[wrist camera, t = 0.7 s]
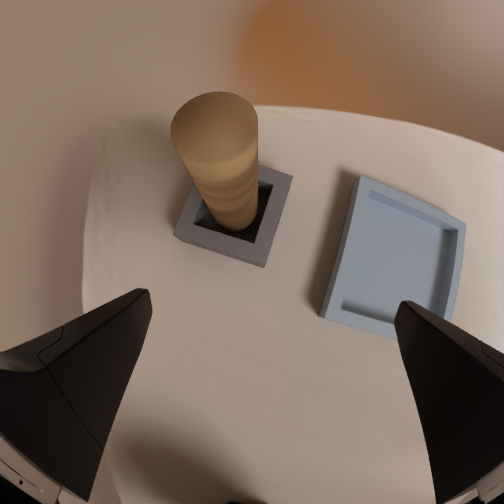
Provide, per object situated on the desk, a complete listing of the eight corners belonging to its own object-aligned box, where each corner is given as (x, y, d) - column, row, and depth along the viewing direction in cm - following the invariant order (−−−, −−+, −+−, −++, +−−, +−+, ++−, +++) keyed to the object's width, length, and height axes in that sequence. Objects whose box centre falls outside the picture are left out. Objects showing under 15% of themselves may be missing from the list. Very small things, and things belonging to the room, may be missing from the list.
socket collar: (264, 268, 23) (264, 264, 20) (181, 240, 23) (172, 234, 21) (289, 187, 24) (292, 175, 21) (211, 165, 24) (206, 151, 22)
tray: (431, 346, 21) (443, 349, 19) (318, 316, 22) (324, 318, 20) (454, 228, 23) (466, 223, 21) (353, 183, 24) (360, 175, 22)
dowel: (249, 240, 23) (240, 171, 10) (208, 227, 23) (156, 150, 10) (263, 200, 23) (268, 101, 11) (222, 188, 24) (191, 86, 11)
